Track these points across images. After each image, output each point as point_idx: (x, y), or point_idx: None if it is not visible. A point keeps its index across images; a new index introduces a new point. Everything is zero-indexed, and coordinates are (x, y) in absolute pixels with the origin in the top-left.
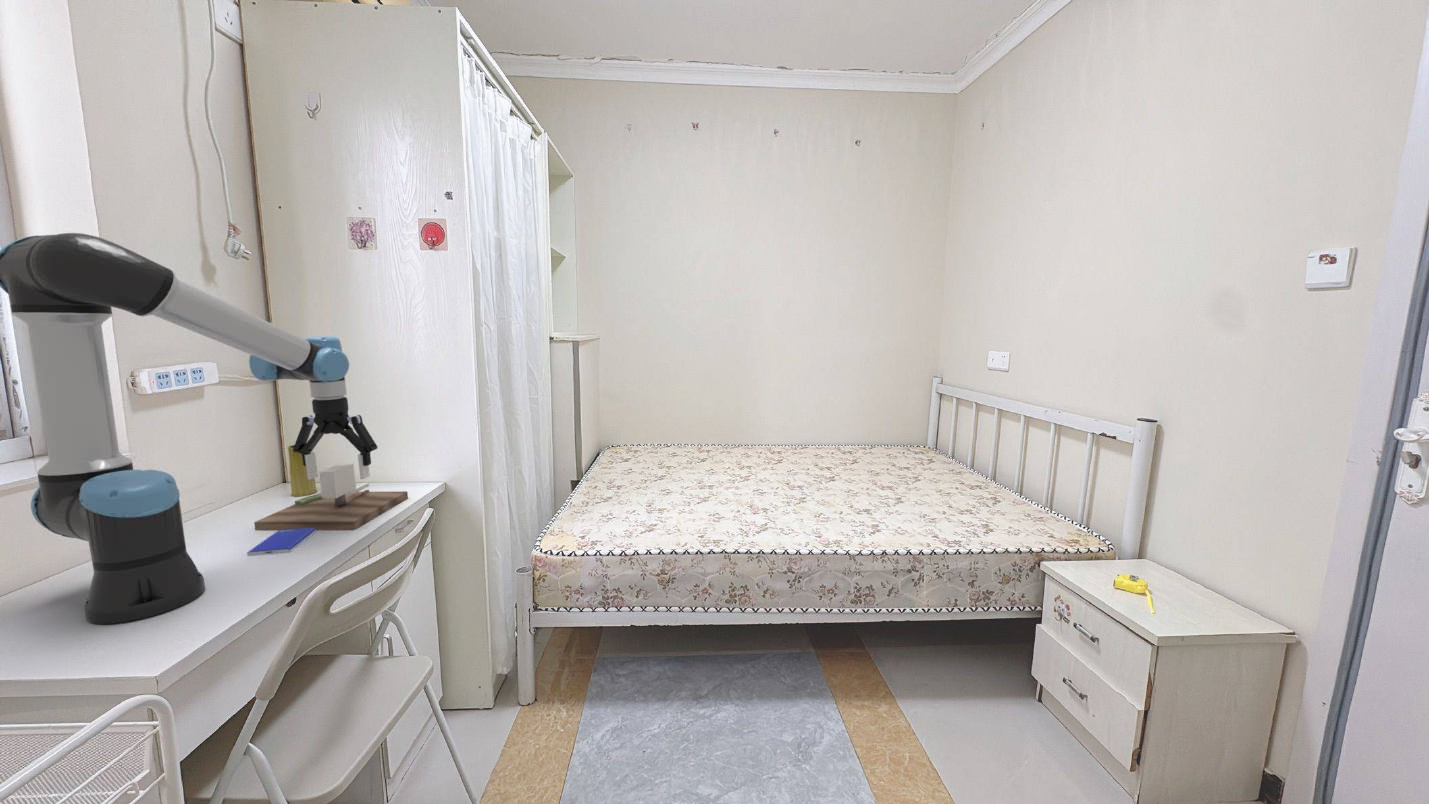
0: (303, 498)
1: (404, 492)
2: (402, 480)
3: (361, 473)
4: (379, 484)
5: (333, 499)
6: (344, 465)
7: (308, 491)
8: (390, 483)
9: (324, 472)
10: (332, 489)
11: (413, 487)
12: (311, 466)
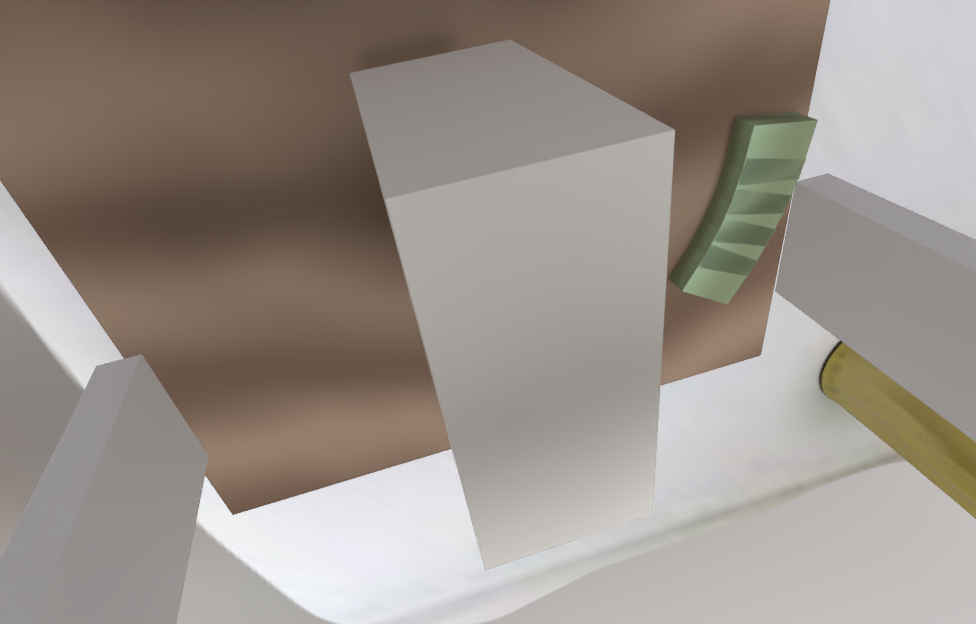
0: (785, 186)
1: (230, 498)
2: (525, 596)
3: (85, 420)
4: (592, 537)
5: None
6: (528, 491)
7: (850, 359)
8: (550, 560)
9: (568, 148)
10: (399, 92)
11: (385, 572)
12: (923, 298)
